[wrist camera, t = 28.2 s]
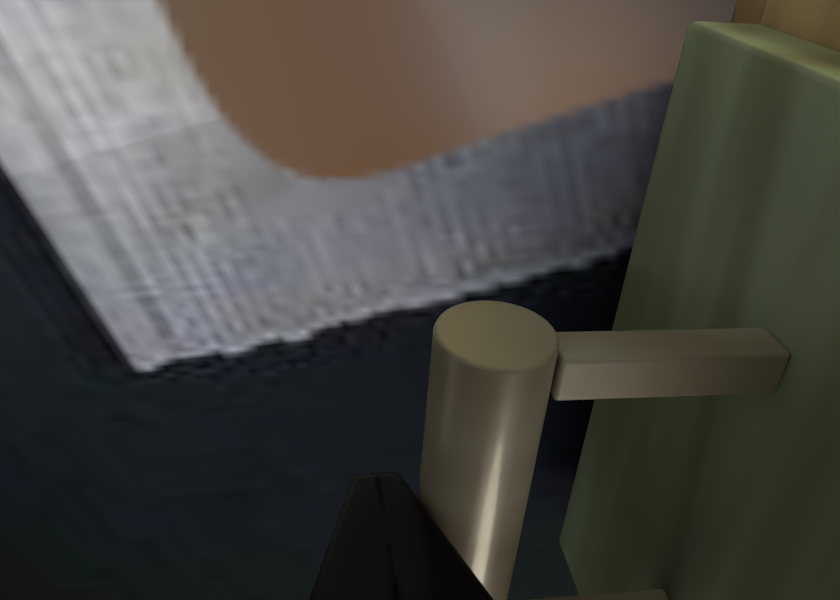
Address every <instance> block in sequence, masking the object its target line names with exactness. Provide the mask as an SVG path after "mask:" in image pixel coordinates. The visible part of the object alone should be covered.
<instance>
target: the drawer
mask: <svg viewBox="0 0 840 600" xmlns="http://www.w3.org/2000/svg"><path fill="white" fill-rule="evenodd" d="M550 392H551V394H552V396H553V398H554V399H555V400H558V401H563V400H591V399H595V400H594V404H593V408H592V412H591V416H590V420H589V424H588V428H587V432H586V436H585V440H584V444H583V448H582V452H581V456H580V460H579V464H578V468H577V472H576V476H575V480H574V484H573V488H572V492H571V496H570V500H569V504H568V508H567V512H566V516H565V520H564V524H563V528H562V532H561V536H560V541H559V542H560V545H561V548H562V550H563V553H564V556H565V558H566V561H567V564H568V567H569V569H570V572H571V575H572V577H573V580H574V583H575V585H576V588H577V591H578V594H579V595H576V596H564V597H551V598H538V599H526V600H840V52H837V51H834V50H832V49H829V48H826V47H823V46H820V45H817V44H814V43H812V42H809V41H806V40H803V39H800V38H797V37H794V36H792V35H789V34H786V33H783V32H780V31H777V30H774V29H772V28H769V27H766V26H763V25H760V24H747V23H727V22H726V23H725V22H706V21H695V22H692V23H690V24H689V26H688V29H687V33H686V37H685V41H684V45H683V49H682V53H681V57H680V61H679V65H678V69H677V73H676V77H675V81H674V85H673V89H672V93H671V97H670V101H669V105H668V109H667V113H666V117H665V121H664V125H663V129H662V133H661V137H660V141H659V145H658V149H657V153H656V157H655V161H654V165H653V169H652V173H651V177H650V181H649V185H648V189H647V193H646V197H645V201H644V205H643V209H642V212H641V216H640V220H639V224H638V228H637V232H636V236H635V240H634V244H633V248H632V252H631V256H630V260H629V264H628V268H627V272H626V276H625V280H624V284H623V288H622V292H621V296H620V300H619V304H618V308H617V312H616V316H615V320H614V324H613V328H612V331H583V332H556V331H555V330H554V328H553V327H552V326H551V325H550V323H549V322H547V321H546V320H545V319H544V318H543V317H541V316H540V315H538V314H536V313H535V312H533V311H531V310H528V309H526V308H523V307H521V306H517V305H514V304H510V303H505V302H499V301H472V302H466V303H462V304H458V305H456V306H453V307H451V308H449V309H447V310H446V311H445V312H443V313H442V314H441V315H440V316H439V318H438V319H437V321H436V323H435V325H434V328H433V339H432V350H431V361H430V372H429V382H428V393H427V404H426V415H425V426H424V437H423V448H422V459H421V470H420V480H419V491H418V499H419V501H420V502H421V503H422V505H423V506H424V507H425V509H426V510H427V511H428V513H429V514H430V515H431V517H432V518H433V519H434V521H435V522H436V523H437V525H438V526H439V527H440V529H441V530H442V531H443V533H444V534H445V535H446V537H447V538H448V539H449V541H450V542H451V543H452V545H453V546H454V547H455V549H456V550H457V551H458V553H459V554H460V555H461V557H462V558H463V559H464V561H465V562H466V563H467V565H468V566H469V567H470V569H471V570H472V571H473V573H474V574H475V575H476V577H477V578H478V579H479V581H480V582H481V583H482V585H483V586H484V587H485V589H486V590H487V591H488V593H489V594H490V595H491V597H492V598H493V599H494V600H507V598H508V593H509V588H510V583H511V578H512V573H513V569H514V564H515V559H516V554H517V549H518V544H519V540H520V535H521V530H522V525H523V520H524V515H525V511H526V506H527V501H528V496H529V491H530V486H531V482H532V477H533V472H534V467H535V462H536V457H537V453H538V448H539V443H540V438H541V433H542V428H543V424H544V419H545V414H546V409H547V404H548V399H549V394H550Z"/></svg>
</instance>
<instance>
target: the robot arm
mask: <svg viewBox="0 0 840 600" xmlns="http://www.w3.org/2000/svg"><path fill="white" fill-rule="evenodd" d="M309 600H494V599H493V598H492V597H491V595H490V594H489V593H488V591H487V590H486V589H485V587H484V586H483V585H482V583H481V582H480V581H479V579H478V578H477V577H476V575H475V574H474V573H473V571H472V570H471V569H470V567H469V566H468V565H467V563H466V562H465V561H464V559H463V558H462V557H461V555H460V554H459V553H458V551H457V550H456V549H455V547H454V546H453V545H452V543H451V542H450V541H449V539H448V538H447V537H446V535H445V534H444V533H443V531H442V530H441V529H440V527H439V526H438V525H437V523H436V522H435V521H434V519H433V518H432V517H431V515H430V514H429V513H428V511H427V510H426V509H425V507H424V506H423V505H422V503H421V502H420V501H419V499H418V498H417V497H416V495H415V494H414V493H413V491H412V490H411V489H410V487H409V486H408V485H407V483H406V482H405V481H404V479H403V478H402V477H401V476H400V475H399V474H398V473H396V472H385V473H370V474H358V475H355V476H354V477H353V479H352V481H351V484H350V487H349V489H348V492H347V495H346V498H345V501H344V503H343V506H342V509H341V512H340V515H339V517H338V520H337V523H336V526H335V529H334V531H333V534H332V537H331V540H330V543H329V546H328V548H327V551H326V554H325V557H324V560H323V562H322V565H321V568H320V571H319V574H318V576H317V579H316V582H315V585H314V588H313V590H312V593H311V596H310V599H309Z"/></svg>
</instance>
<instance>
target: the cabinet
mask: <svg viewBox="0 0 840 600" xmlns="http://www.w3.org/2000/svg"><path fill="white" fill-rule="evenodd" d="M731 23H747V24H760V25H763V26H766V27H769V28H772V29H774V30H777V31H780V32H783V33H786V34H789V35H792V36H794V37H797V38H800V39H803V40H806V41H809V42H812V43H814V44H817V45H820V46H823V47H826V48H829V49H832V50H834V51H837V52H840V0H737V2H736V6H735V10H734V13H733V17H732V20H731Z"/></svg>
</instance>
